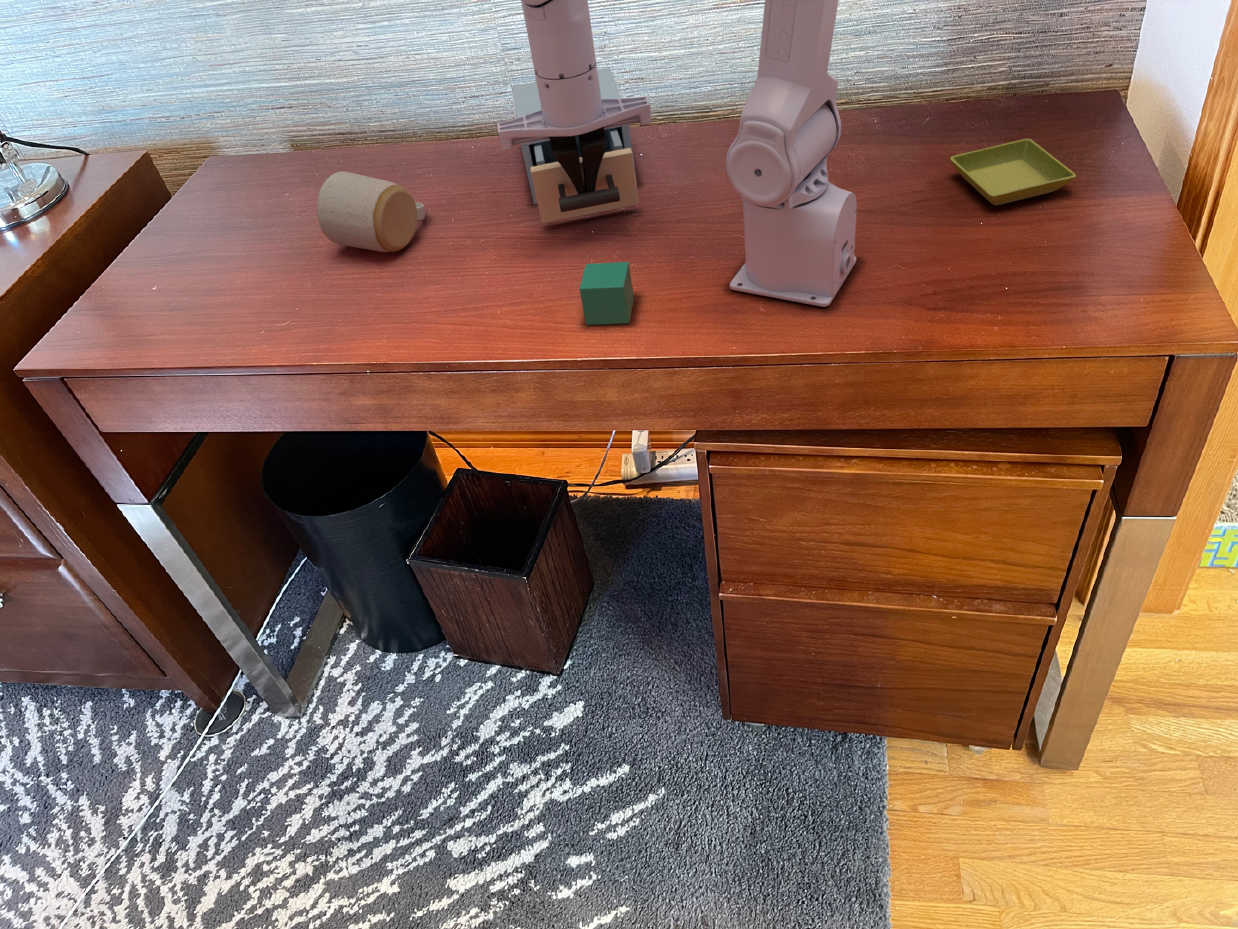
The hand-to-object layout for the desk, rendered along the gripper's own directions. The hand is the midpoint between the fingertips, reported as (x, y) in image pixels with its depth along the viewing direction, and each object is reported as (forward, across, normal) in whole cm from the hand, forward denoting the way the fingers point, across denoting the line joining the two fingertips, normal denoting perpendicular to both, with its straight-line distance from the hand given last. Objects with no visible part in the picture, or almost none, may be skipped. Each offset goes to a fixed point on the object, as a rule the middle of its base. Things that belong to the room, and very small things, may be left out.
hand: (587, 201), depth 91 cm
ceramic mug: (+4, +22, -7) cm, 24 cm away
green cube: (+3, 0, +15) cm, 15 cm away
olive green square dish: (+3, -41, +7) cm, 42 cm away
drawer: (+3, 0, -6) cm, 7 cm away
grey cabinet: (+3, 0, -15) cm, 16 cm away
